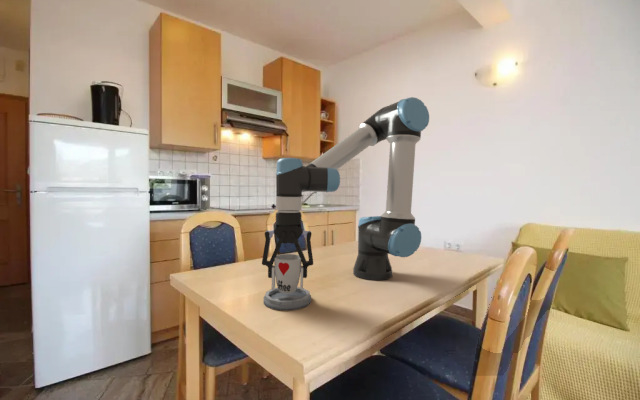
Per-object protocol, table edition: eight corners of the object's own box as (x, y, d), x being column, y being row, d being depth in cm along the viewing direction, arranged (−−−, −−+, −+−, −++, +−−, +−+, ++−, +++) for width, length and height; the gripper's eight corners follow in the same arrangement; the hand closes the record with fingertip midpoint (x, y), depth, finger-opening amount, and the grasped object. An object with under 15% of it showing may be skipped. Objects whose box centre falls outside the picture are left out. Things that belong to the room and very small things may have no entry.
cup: (268, 290, 86) (268, 256, 86) (288, 284, 92) (289, 252, 92) (285, 297, 81) (286, 261, 80) (306, 290, 87) (307, 257, 86)
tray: (310, 292, 94) (310, 285, 94) (312, 310, 80) (312, 302, 80) (266, 292, 93) (266, 286, 93) (260, 310, 79) (260, 302, 79)
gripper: (322, 211, 90) (321, 284, 91) (255, 210, 89) (254, 284, 90) (324, 212, 83) (322, 292, 83) (251, 211, 81) (250, 293, 82)
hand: (287, 288), depth 86 cm, fingers closed on cup, 8 cm apart
